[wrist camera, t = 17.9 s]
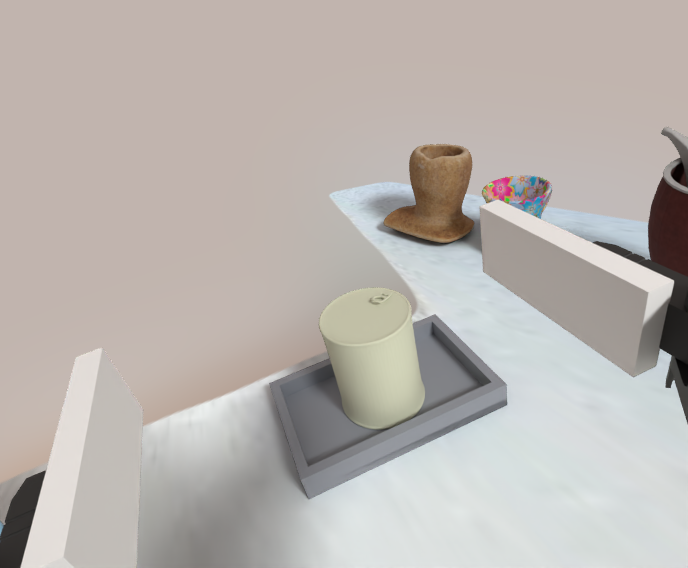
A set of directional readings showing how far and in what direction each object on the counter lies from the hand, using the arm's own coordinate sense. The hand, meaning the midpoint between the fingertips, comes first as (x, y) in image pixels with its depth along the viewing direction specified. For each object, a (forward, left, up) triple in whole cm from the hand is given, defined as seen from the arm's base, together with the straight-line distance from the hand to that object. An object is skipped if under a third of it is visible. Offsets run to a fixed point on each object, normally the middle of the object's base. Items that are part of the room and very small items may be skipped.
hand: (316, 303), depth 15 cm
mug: (+39, +39, -30) cm, 63 cm away
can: (+7, +22, -29) cm, 37 cm away
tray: (+7, +22, -30) cm, 38 cm away
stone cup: (+32, +54, -30) cm, 70 cm away
